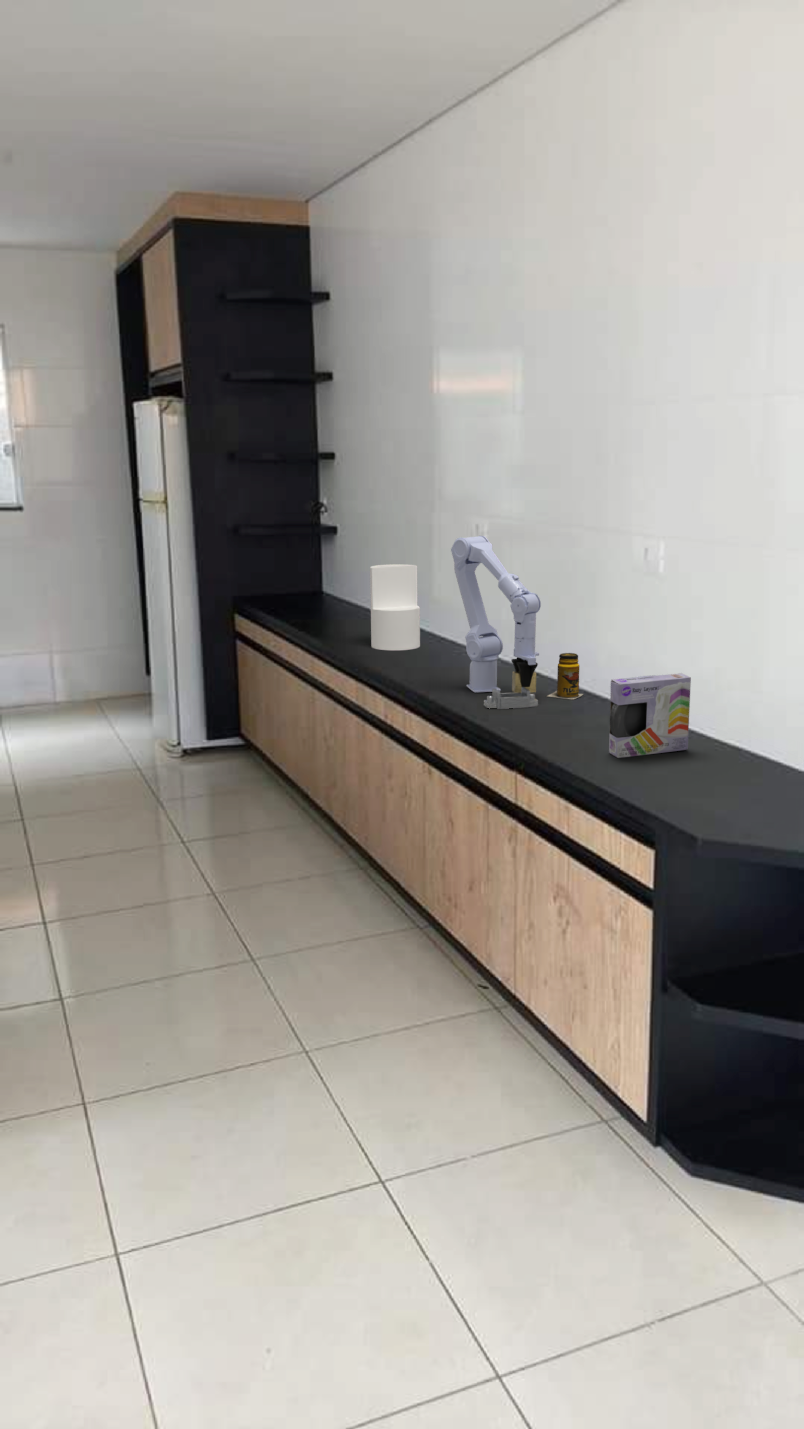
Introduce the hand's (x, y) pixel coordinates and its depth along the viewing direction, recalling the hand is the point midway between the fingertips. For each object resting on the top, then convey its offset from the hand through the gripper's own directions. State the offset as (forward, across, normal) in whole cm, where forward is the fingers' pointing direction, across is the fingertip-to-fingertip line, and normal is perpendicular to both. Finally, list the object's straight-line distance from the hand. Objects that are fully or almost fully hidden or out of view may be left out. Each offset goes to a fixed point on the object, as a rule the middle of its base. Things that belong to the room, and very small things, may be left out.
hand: (523, 685), depth 314 cm
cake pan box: (+3, -62, -10) cm, 63 cm away
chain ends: (+3, -9, +6) cm, 12 cm away
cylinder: (+5, +92, +19) cm, 94 cm away
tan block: (+2, 0, 0) cm, 2 cm away
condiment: (+4, 0, -12) cm, 13 cm away
